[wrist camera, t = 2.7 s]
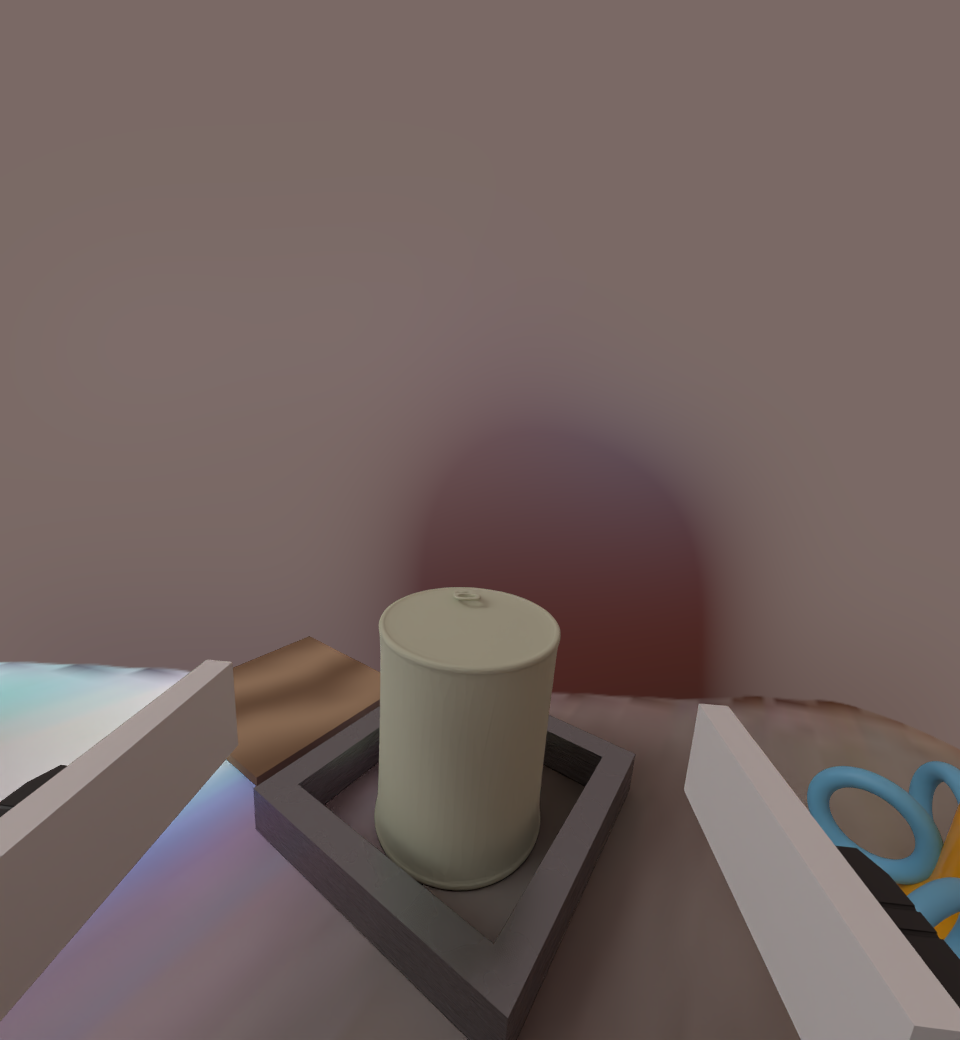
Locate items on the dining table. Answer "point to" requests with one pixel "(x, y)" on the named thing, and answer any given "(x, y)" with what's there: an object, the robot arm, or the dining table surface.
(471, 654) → the can
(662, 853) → the dining table surface
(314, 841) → the collar
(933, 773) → the orange tall piece
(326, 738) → the pad
